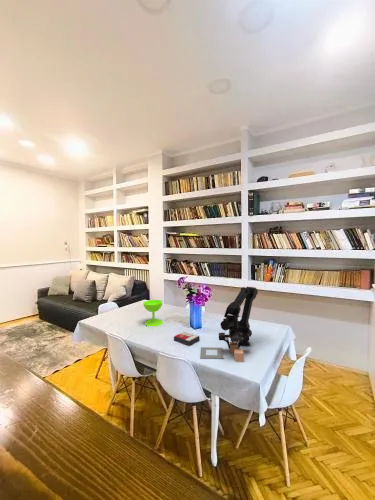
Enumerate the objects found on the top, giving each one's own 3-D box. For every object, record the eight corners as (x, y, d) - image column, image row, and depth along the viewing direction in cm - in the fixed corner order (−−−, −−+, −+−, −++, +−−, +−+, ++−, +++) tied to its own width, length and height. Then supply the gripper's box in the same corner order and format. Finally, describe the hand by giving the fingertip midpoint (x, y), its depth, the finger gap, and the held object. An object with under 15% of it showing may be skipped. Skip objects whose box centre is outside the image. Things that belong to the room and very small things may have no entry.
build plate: (200, 347, 163) (200, 347, 163) (222, 348, 162) (222, 347, 162) (200, 358, 149) (200, 357, 149) (223, 358, 148) (223, 358, 148)
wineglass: (140, 325, 206) (140, 304, 205) (149, 319, 222) (148, 299, 221) (158, 327, 202) (157, 305, 201) (166, 320, 217) (165, 300, 216)
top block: (234, 357, 150) (234, 349, 149) (242, 357, 149) (242, 349, 149) (235, 361, 145) (234, 353, 144) (243, 361, 144) (243, 353, 144)
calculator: (183, 331, 184) (199, 335, 174) (184, 336, 184) (200, 341, 174) (173, 335, 176) (189, 340, 166) (173, 341, 176) (189, 346, 166)
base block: (229, 349, 160) (229, 341, 159) (237, 349, 159) (237, 342, 159) (230, 353, 155) (230, 345, 154) (238, 353, 154) (238, 345, 154)
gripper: (218, 330, 149) (219, 355, 150) (250, 330, 147) (251, 356, 148) (218, 323, 160) (218, 347, 161) (247, 323, 158) (248, 347, 159)
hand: (233, 349), depth 157 cm, fingers closed on base block, 5 cm apart
